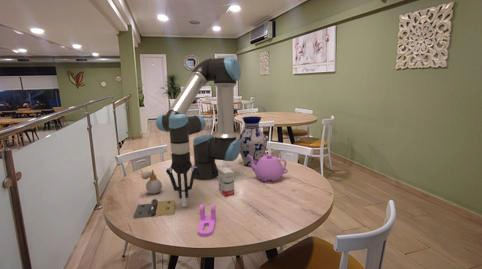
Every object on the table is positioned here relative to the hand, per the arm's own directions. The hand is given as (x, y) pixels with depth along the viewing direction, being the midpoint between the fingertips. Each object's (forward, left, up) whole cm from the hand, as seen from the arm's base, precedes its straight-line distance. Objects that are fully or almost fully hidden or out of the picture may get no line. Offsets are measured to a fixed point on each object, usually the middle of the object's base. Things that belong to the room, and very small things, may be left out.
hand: (184, 204), depth 119 cm
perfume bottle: (+15, -19, -2) cm, 24 cm away
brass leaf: (+8, 0, -2) cm, 8 cm away
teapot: (-44, -26, -2) cm, 51 cm away
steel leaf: (+16, 0, -1) cm, 16 cm away
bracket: (-9, +18, -2) cm, 20 cm away
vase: (-41, -54, -2) cm, 68 cm away
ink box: (-20, -12, -2) cm, 23 cm away
